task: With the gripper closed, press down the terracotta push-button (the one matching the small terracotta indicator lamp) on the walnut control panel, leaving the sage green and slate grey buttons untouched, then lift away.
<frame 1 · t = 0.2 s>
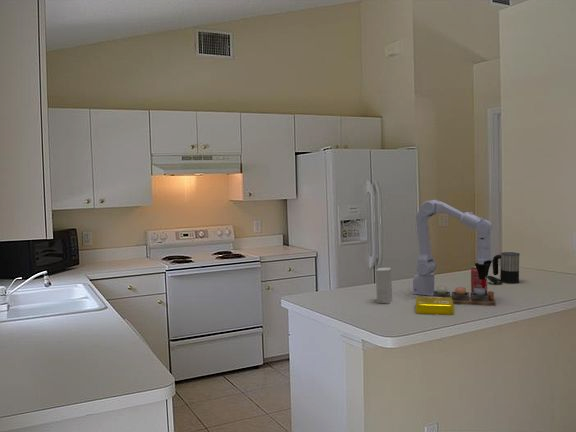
hand: (483, 278, 249), 10 cm above the counter, fingers open, 7 cm apart
soda can: (479, 294, 261), on the counter
sage button: (441, 290, 250), point 4 cm above the counter, slide at 0.0 cm
terracotta button: (460, 291, 248), point 5 cm above the counter, slide at 0.0 cm
skincare box: (384, 301, 252), on the counter
slate button: (479, 292, 245), point 4 cm above the counter, slide at 0.0 cm
panel: (460, 301, 248), on the counter
element tile: (434, 311, 235), on the counter
milk frother: (503, 283, 286), on the counter
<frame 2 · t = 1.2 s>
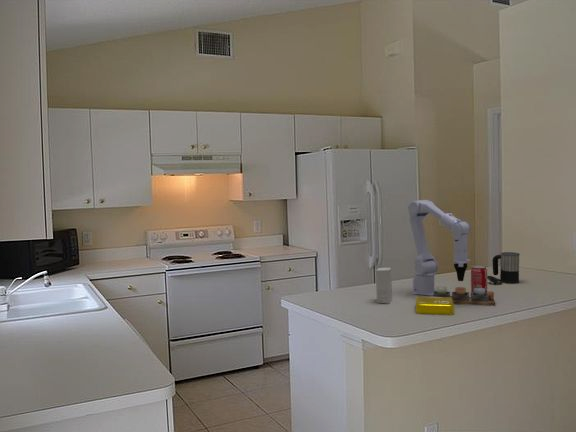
hand: (460, 280, 247), 9 cm above the counter, fingers closed
nothing on the counter moved.
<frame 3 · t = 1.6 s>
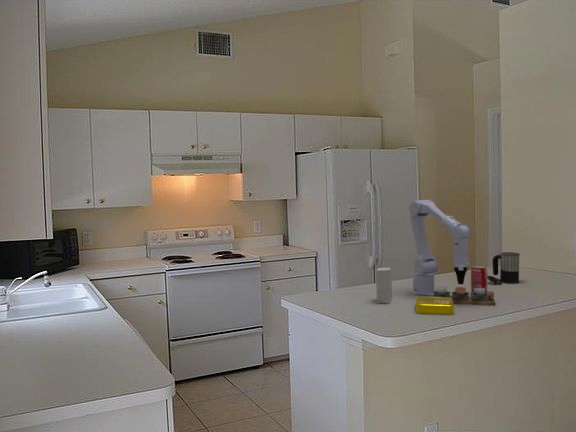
hand: (460, 284, 247), 8 cm above the counter, fingers closed
nothing on the counter moved.
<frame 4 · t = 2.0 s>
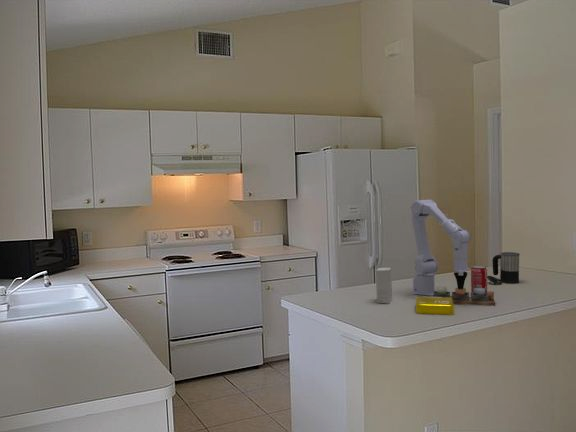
hand: (460, 288, 248), 6 cm above the counter, fingers closed, pressing on terracotta button
terracotta button: (460, 292, 248), point 4 cm above the counter, slide at 0.3 cm, touching gripper
everything else where it was.
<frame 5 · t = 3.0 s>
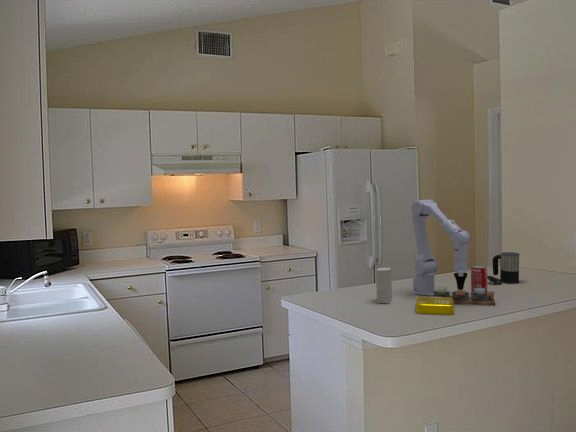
hand: (460, 289, 248), 5 cm above the counter, fingers closed
terracotta button: (460, 294, 248), point 3 cm above the counter, slide at 1.4 cm
everything else where it was.
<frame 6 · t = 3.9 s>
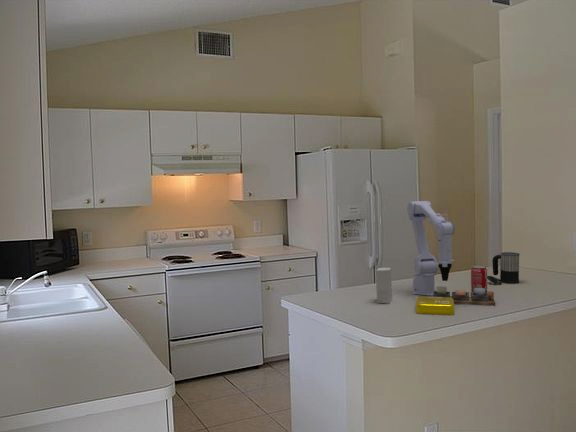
hand: (444, 280, 248), 9 cm above the counter, fingers closed
nothing on the counter moved.
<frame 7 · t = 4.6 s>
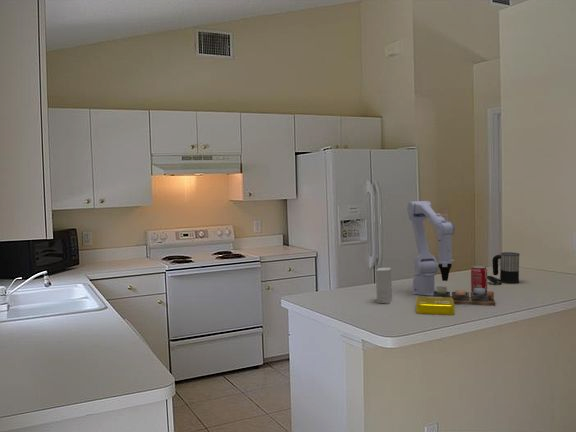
hand: (444, 280, 248), 9 cm above the counter, fingers closed
nothing on the counter moved.
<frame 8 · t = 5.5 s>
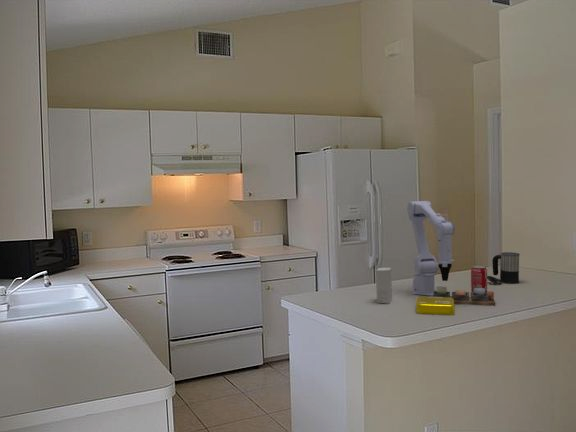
hand: (444, 280, 248), 9 cm above the counter, fingers closed
nothing on the counter moved.
at the end: terracotta button slide at 1.4 cm; sage button slide at 0.0 cm; slate button slide at 0.0 cm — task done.
